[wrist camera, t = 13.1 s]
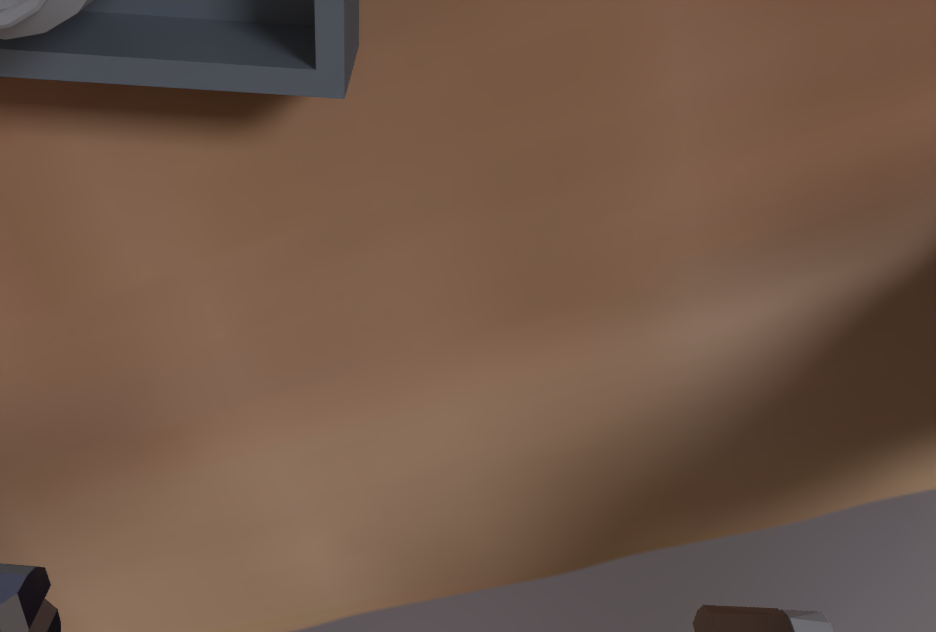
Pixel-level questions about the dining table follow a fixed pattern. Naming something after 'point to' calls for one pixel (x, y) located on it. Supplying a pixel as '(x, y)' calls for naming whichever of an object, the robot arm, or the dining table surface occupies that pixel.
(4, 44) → the bin
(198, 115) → the dining table surface
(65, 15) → the can
